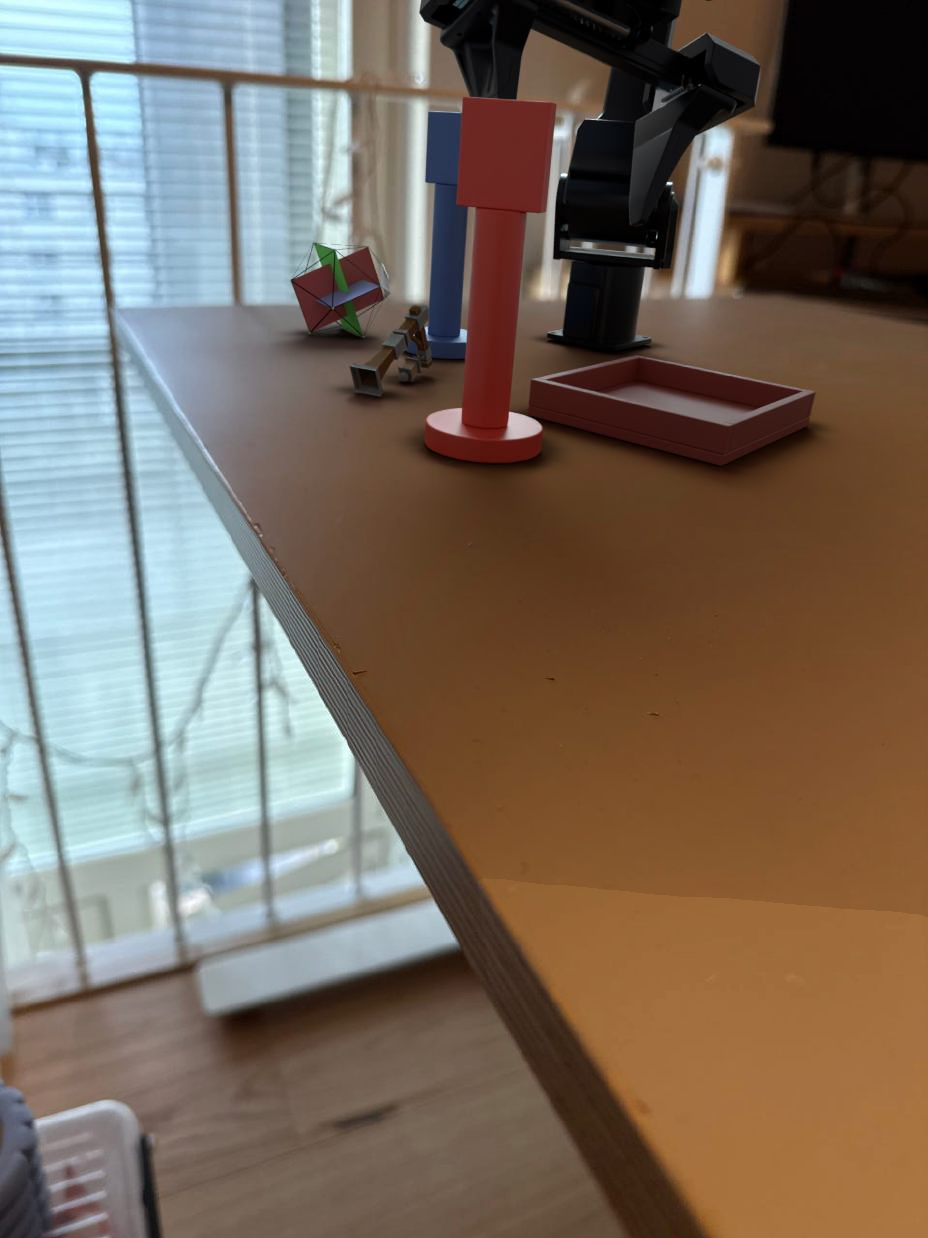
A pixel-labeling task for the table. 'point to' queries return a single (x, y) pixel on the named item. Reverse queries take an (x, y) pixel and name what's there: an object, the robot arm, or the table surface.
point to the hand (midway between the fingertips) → (570, 199)
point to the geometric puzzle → (339, 289)
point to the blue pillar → (445, 239)
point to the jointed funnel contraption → (396, 354)
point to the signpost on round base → (496, 274)
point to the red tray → (672, 407)
